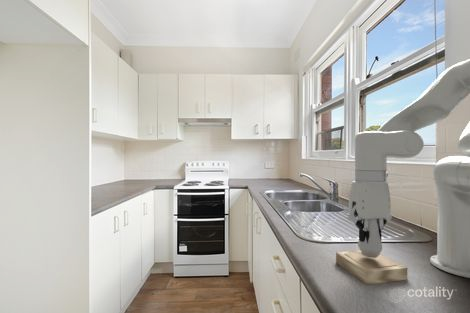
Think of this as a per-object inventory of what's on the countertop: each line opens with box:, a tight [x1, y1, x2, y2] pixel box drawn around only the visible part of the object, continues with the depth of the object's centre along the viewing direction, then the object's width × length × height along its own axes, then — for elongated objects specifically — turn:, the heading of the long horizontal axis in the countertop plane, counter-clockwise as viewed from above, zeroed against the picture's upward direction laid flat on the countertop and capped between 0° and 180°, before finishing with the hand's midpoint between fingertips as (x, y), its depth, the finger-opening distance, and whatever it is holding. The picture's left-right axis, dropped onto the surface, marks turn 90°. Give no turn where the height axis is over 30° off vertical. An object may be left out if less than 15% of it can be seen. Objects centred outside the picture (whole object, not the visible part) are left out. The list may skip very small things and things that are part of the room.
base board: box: [335, 249, 408, 286], centre depth 64 cm, size 12×12×3 cm
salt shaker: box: [357, 219, 383, 258], centre depth 64 cm, size 6×6×13 cm
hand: (370, 243), depth 64 cm, fingers closed on salt shaker, 3 cm apart
